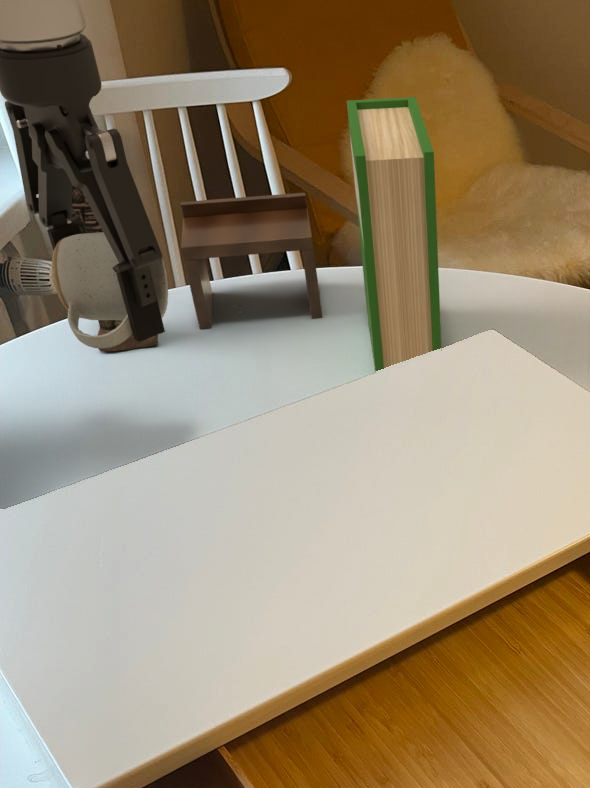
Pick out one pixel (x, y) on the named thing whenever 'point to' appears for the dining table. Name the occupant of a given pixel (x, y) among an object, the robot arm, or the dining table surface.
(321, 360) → the dining table surface
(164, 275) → the ceramic mug
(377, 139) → the hardback book
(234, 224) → the wooden step stool
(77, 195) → the statue
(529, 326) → the dining table surface
